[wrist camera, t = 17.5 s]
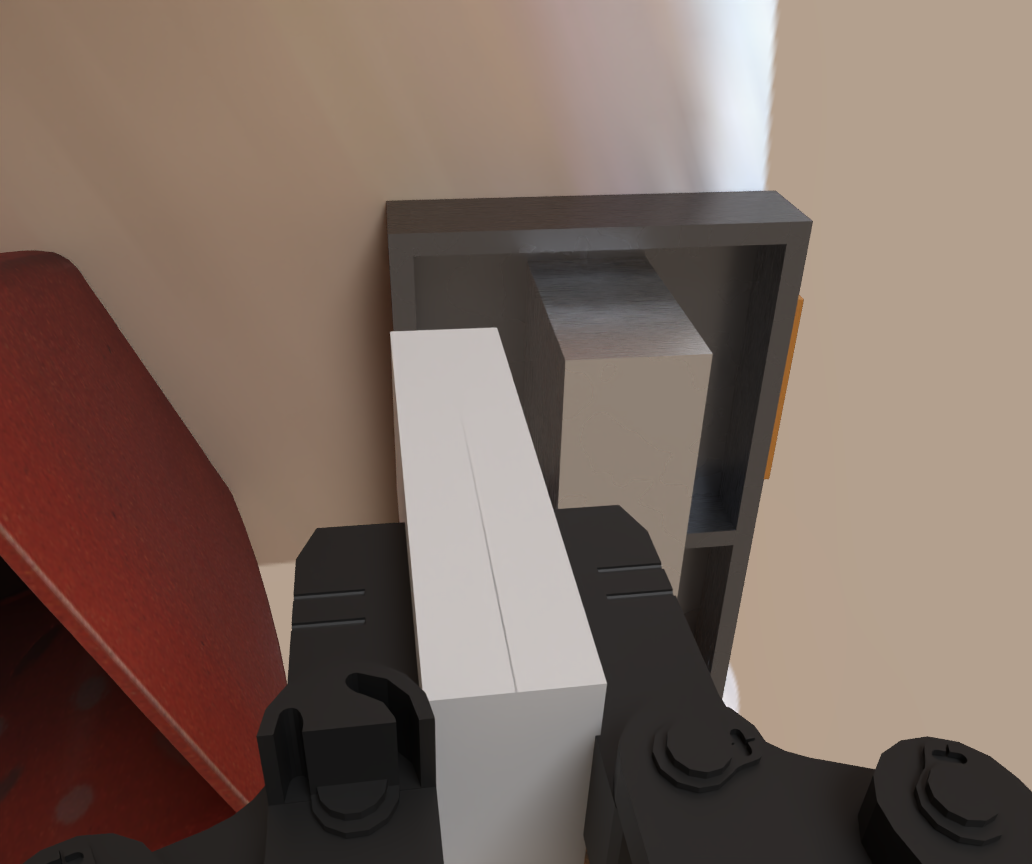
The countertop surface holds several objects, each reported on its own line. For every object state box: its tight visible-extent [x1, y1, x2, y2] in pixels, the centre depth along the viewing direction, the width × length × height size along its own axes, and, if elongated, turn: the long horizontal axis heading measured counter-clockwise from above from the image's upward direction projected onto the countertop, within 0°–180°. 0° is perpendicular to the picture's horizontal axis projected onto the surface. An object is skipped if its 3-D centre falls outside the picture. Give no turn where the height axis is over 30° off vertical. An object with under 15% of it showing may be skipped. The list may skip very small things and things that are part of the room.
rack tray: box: [386, 191, 813, 699], centre depth 40 cm, size 15×28×4 cm, turn 179°
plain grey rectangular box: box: [524, 257, 713, 597], centre depth 33 cm, size 4×10×8 cm, turn 179°
